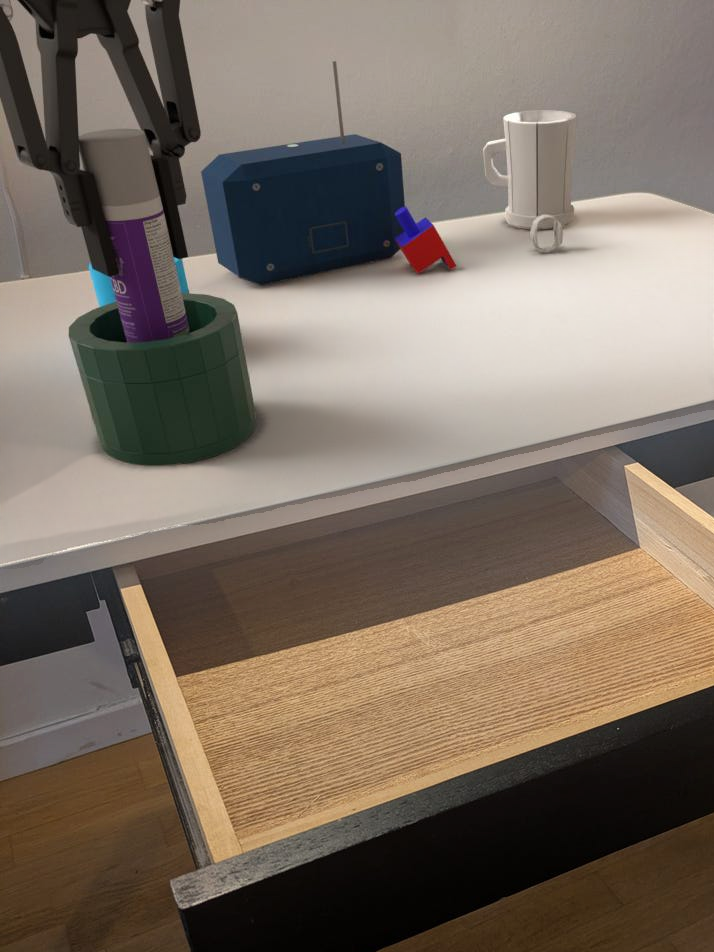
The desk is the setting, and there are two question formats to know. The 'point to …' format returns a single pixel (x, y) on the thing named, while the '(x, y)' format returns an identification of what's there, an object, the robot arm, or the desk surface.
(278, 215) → the radio
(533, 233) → the grey ring
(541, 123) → the cup
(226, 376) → the jar
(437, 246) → the toy building block
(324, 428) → the desk surface
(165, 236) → the container
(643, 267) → the desk surface
